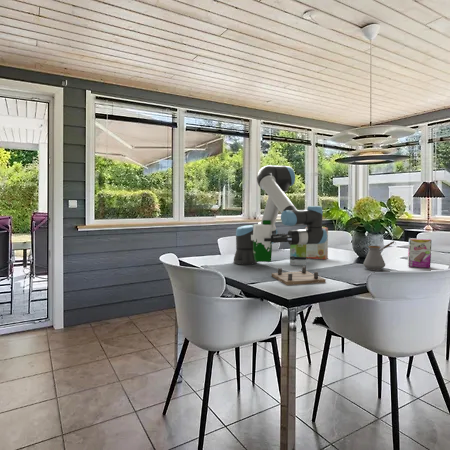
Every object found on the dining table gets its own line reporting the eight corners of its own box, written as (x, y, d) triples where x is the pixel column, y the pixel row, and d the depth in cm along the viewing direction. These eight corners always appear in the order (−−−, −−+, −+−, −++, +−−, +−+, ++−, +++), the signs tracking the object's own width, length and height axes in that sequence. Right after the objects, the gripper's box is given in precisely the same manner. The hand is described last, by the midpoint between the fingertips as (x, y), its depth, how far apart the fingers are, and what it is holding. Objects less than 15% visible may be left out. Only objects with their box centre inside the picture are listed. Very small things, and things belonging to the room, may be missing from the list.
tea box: (306, 265, 213) (306, 241, 212) (289, 265, 215) (289, 241, 214) (306, 261, 228) (306, 238, 227) (290, 261, 230) (290, 238, 229)
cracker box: (328, 258, 237) (328, 227, 236) (325, 259, 232) (325, 228, 231) (307, 257, 245) (307, 226, 243) (304, 258, 240) (304, 227, 238)
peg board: (271, 276, 185) (271, 267, 185) (306, 273, 190) (307, 265, 189) (286, 285, 166) (286, 275, 165) (325, 282, 170) (325, 273, 170)
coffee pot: (374, 271, 193) (374, 244, 192) (358, 268, 204) (359, 242, 203) (402, 268, 202) (403, 242, 201) (386, 265, 212) (387, 240, 211)
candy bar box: (408, 267, 204) (409, 239, 203) (407, 265, 209) (408, 238, 208) (431, 268, 201) (431, 239, 200) (429, 266, 206) (429, 238, 204)
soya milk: (273, 261, 172) (273, 220, 171) (254, 262, 171) (254, 221, 170) (269, 258, 181) (269, 219, 179) (251, 259, 180) (251, 219, 178)
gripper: (306, 247, 169) (261, 249, 164) (288, 241, 190) (247, 243, 185) (306, 231, 168) (261, 233, 163) (288, 228, 189) (247, 229, 184)
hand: (254, 238), depth 174 cm, fingers closed on soya milk, 9 cm apart
